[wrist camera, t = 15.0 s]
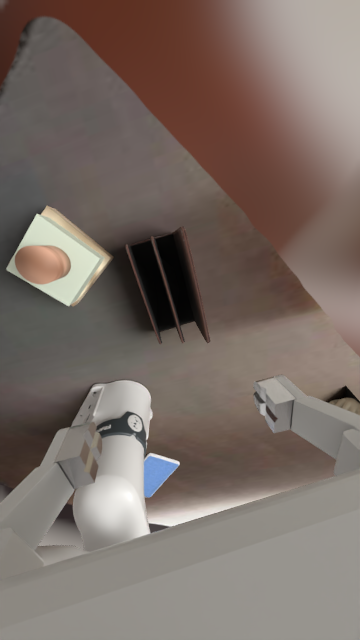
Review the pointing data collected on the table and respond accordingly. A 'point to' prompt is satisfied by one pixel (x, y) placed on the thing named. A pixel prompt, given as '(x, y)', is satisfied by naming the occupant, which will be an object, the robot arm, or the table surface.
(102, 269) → the maple base block
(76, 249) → the sage top block
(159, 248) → the letter holder
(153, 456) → the tablet computer
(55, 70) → the table surface
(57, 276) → the tan rounded cylinder
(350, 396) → the decorative object
